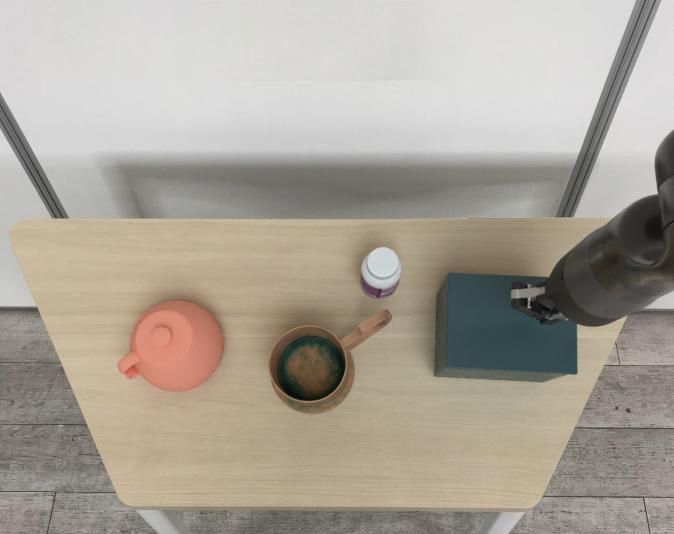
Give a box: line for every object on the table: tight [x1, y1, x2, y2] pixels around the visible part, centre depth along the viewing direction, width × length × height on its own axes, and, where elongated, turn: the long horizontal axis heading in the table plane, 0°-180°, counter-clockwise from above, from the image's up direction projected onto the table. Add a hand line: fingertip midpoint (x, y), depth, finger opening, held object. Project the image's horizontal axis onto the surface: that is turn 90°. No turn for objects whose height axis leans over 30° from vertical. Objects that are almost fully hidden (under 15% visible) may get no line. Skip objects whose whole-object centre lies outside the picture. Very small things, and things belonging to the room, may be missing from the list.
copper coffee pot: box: [267, 308, 393, 415], centre depth 79 cm, size 12×18×12 cm, turn 121°
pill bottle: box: [359, 246, 403, 301], centre depth 81 cm, size 5×5×10 cm
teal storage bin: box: [433, 274, 568, 383], centre depth 80 cm, size 15×12×10 cm
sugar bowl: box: [116, 300, 224, 393], centre depth 80 cm, size 12×14×10 cm
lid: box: [445, 271, 578, 376], centre depth 74 cm, size 16×12×1 cm
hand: (545, 315), depth 69 cm, fingers closed
